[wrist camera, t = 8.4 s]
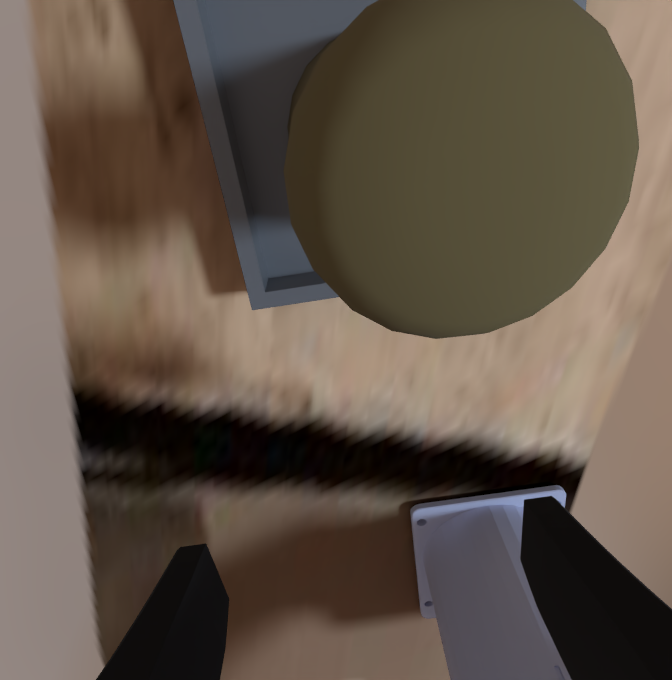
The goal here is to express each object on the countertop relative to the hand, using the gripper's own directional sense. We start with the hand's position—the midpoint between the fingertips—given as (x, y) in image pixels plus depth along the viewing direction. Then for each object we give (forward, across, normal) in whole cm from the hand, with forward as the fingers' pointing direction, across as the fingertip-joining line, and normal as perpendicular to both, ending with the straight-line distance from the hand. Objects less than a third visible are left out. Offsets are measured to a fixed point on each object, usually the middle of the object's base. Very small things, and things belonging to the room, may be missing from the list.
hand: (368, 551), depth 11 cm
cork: (+10, -2, -8) cm, 13 cm away
